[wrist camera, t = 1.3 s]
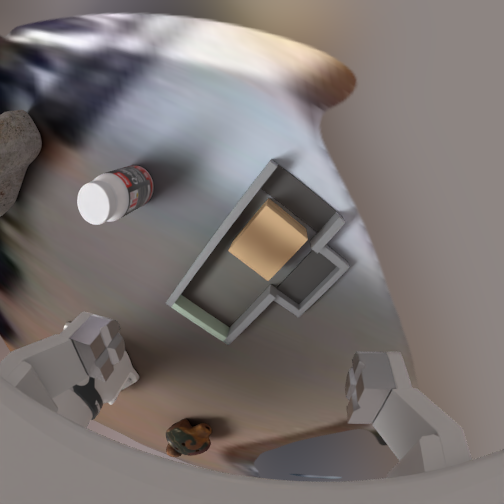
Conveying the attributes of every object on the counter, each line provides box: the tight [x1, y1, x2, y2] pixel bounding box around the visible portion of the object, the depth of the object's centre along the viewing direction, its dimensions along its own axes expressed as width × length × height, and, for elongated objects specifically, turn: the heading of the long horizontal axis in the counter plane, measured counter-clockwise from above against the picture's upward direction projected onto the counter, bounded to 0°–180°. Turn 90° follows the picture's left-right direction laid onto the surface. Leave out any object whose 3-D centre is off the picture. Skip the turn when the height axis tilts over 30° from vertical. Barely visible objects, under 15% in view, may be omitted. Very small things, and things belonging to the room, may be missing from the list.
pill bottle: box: [77, 165, 153, 225], centre depth 31 cm, size 6×6×10 cm
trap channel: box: [166, 160, 350, 345], centre depth 37 cm, size 24×16×2 cm, turn 143°
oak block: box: [228, 198, 308, 281], centre depth 35 cm, size 7×6×4 cm
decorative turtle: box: [166, 419, 212, 457], centre depth 53 cm, size 10×15×8 cm, turn 143°
